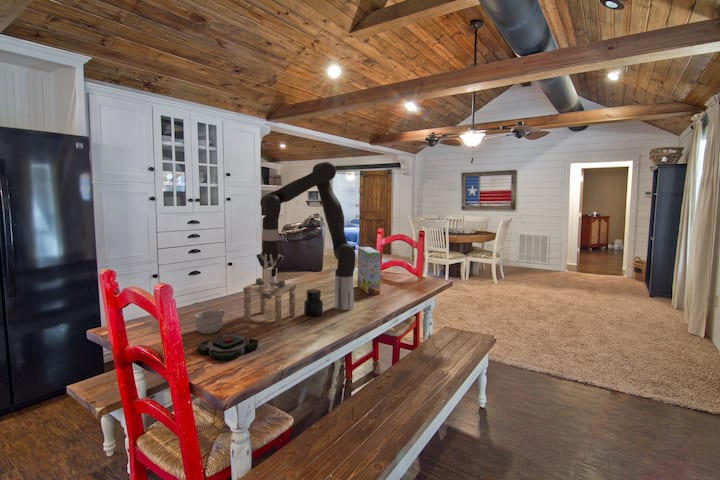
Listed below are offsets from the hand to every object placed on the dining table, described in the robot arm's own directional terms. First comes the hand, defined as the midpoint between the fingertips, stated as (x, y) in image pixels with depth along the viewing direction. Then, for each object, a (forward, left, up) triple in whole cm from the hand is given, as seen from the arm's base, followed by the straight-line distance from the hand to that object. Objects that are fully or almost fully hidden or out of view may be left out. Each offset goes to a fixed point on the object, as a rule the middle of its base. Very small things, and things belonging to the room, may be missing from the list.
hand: (270, 276), depth 176 cm
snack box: (-28, -69, -21) cm, 77 cm away
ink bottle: (-16, -13, -21) cm, 29 cm away
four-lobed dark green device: (-3, +36, -21) cm, 42 cm away
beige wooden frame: (0, 0, -20) cm, 20 cm away
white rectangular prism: (0, 0, -10) cm, 10 cm away
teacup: (+15, +22, -21) cm, 34 cm away
